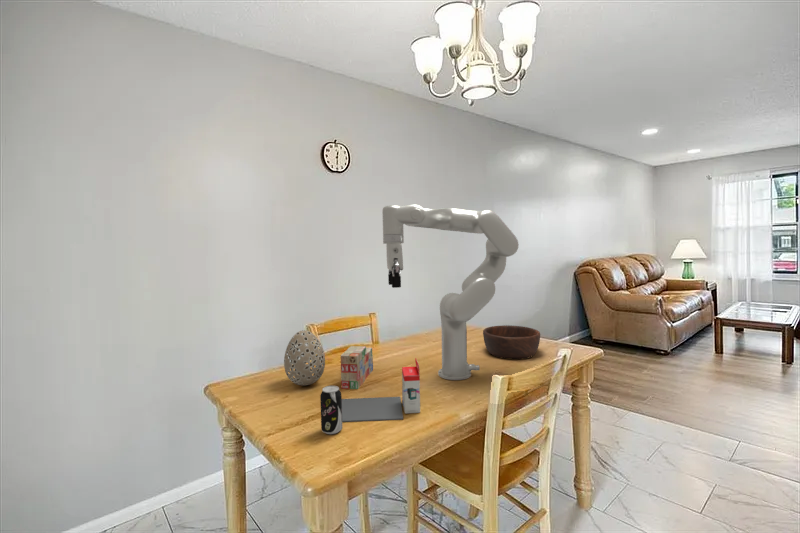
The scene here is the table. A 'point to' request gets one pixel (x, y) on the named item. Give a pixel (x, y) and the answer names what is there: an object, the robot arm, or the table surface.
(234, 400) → the table surface
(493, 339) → the wooden bowl
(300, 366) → the ornament
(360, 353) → the stack of blocks
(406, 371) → the ink box
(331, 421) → the beverage can
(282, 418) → the table surface
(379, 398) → the mat
